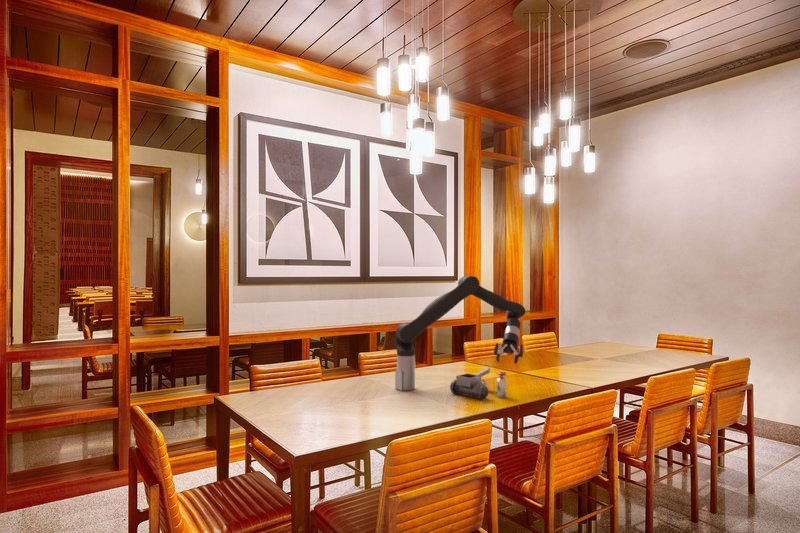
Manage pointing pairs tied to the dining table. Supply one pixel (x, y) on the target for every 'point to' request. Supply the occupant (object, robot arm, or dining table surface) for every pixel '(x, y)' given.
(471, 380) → the grey toy rover
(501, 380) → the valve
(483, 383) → the door handle
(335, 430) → the dining table surface
